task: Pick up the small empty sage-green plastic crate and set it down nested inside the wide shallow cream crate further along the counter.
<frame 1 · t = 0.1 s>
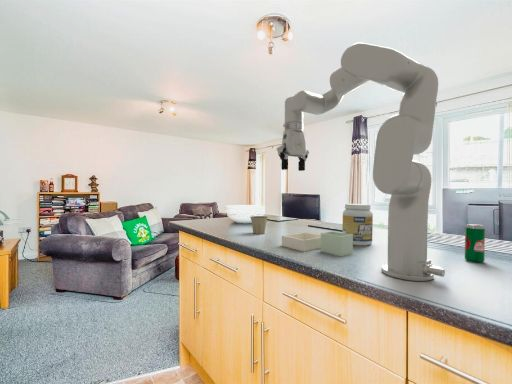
hand: (293, 170, 110), 31 cm above the worktop, tool pointing down, fingers open, 9 cm apart
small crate: (336, 252, 99), on the worktop
supplement tub: (357, 243, 115), on the worktop
flower pot: (258, 233, 139), on the worktop
soda can: (474, 261, 87), on the worktop
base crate: (304, 246, 109), on the worktop
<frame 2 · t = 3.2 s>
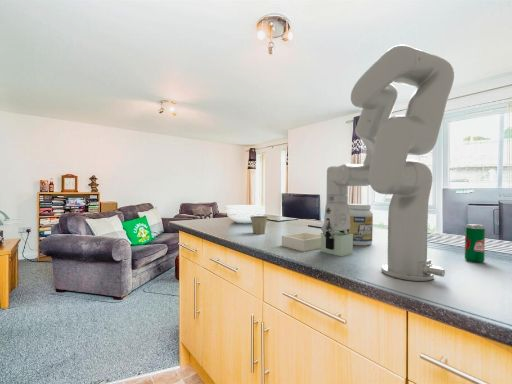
hand: (336, 247, 99), 2 cm above the worktop, tool pointing down, fingers closed on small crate, 7 cm apart
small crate: (336, 252, 99), on the worktop, touching gripper
everything else where it was.
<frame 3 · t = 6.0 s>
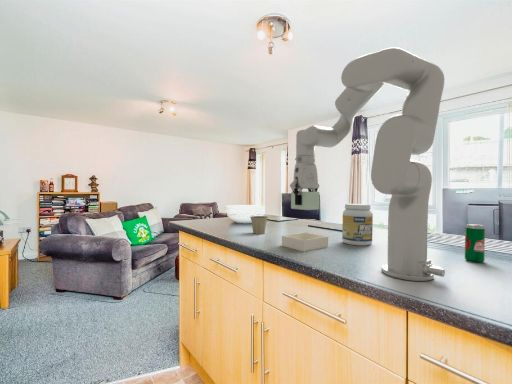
hand: (305, 204, 109), 17 cm above the worktop, tool pointing down, fingers closed on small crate, 7 cm apart
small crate: (304, 208, 109), point 15 cm above the worktop, touching gripper
everything else where it was.
when the fingers open (5 cm above the worktop, at t = 8.6 s): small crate drops 3 cm, resting on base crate.
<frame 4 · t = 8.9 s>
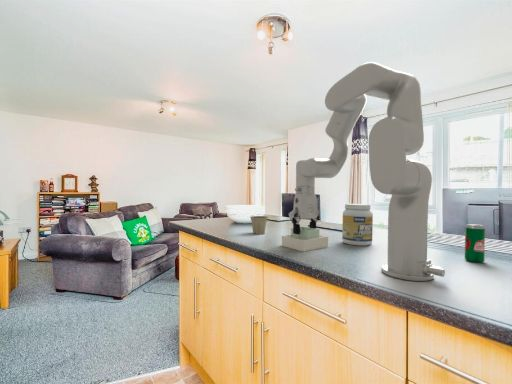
hand: (304, 232, 109), 5 cm above the worktop, tool pointing down, fingers open, 9 cm apart
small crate: (304, 245, 109), resting on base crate
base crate: (304, 247, 109), on the worktop, touching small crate
everything else where it was.
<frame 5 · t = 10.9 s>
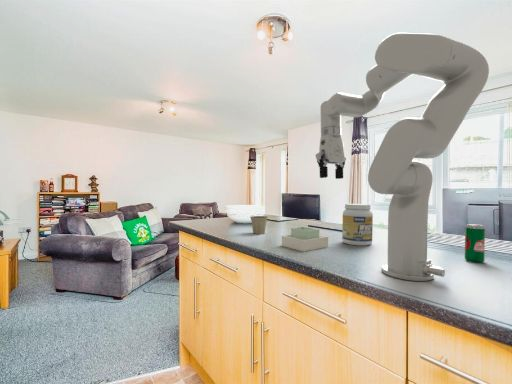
hand: (331, 178, 102), 28 cm above the worktop, tool pointing down, fingers open, 9 cm apart
nothing on the worktop moved.
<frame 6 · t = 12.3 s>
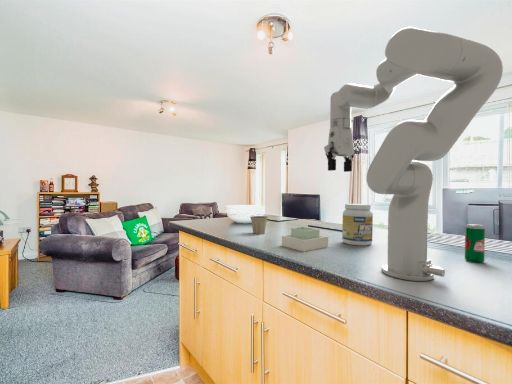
hand: (340, 170, 101), 30 cm above the worktop, tool pointing down, fingers open, 9 cm apart
nothing on the worktop moved.
at the end: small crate 0.1 cm off-centre on the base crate, point 0.6 cm above the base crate's base; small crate tilted 0°; the gripper is holding nothing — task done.
